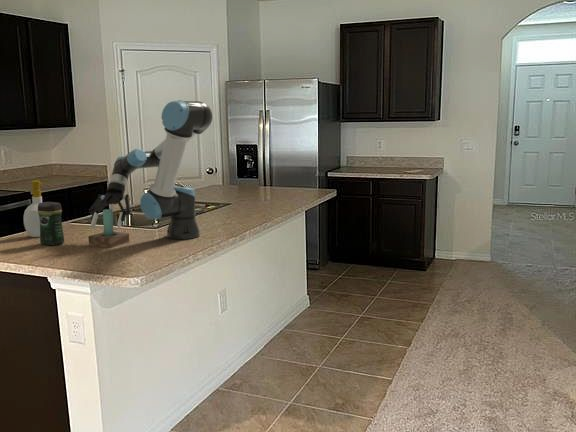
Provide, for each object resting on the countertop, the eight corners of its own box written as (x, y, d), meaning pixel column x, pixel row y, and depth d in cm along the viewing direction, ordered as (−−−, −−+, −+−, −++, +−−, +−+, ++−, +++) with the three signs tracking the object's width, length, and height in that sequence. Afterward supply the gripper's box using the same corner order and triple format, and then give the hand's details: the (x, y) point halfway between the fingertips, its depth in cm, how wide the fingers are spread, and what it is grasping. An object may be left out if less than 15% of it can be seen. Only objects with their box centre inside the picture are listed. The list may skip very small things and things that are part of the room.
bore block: (129, 242, 250) (128, 233, 249) (110, 247, 239) (110, 238, 239) (108, 239, 255) (107, 231, 254) (88, 245, 244) (88, 236, 243)
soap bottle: (32, 239, 255) (27, 182, 251) (20, 237, 260) (15, 181, 256) (60, 234, 267) (56, 179, 262) (48, 232, 272) (44, 178, 267)
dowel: (115, 240, 248) (114, 209, 245) (109, 242, 244) (107, 210, 242) (108, 240, 249) (107, 208, 247) (102, 241, 246) (100, 210, 243)
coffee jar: (67, 242, 249) (64, 201, 246) (54, 246, 242) (50, 203, 239) (50, 241, 253) (47, 200, 250) (37, 244, 245) (33, 202, 242)
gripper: (144, 191, 258) (134, 231, 245) (94, 191, 259) (82, 231, 247) (140, 181, 252) (129, 222, 239) (89, 181, 253) (76, 221, 241)
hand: (105, 226), depth 243 cm, fingers open, 11 cm apart
